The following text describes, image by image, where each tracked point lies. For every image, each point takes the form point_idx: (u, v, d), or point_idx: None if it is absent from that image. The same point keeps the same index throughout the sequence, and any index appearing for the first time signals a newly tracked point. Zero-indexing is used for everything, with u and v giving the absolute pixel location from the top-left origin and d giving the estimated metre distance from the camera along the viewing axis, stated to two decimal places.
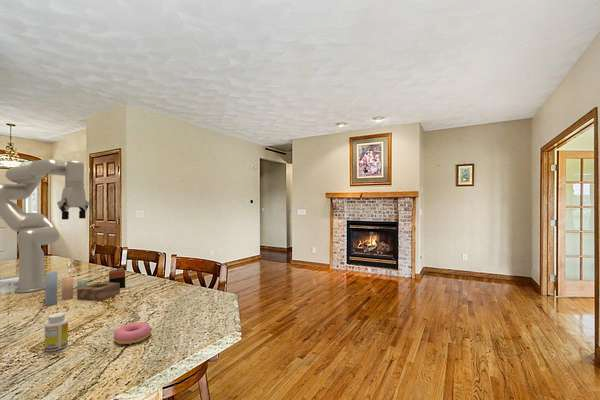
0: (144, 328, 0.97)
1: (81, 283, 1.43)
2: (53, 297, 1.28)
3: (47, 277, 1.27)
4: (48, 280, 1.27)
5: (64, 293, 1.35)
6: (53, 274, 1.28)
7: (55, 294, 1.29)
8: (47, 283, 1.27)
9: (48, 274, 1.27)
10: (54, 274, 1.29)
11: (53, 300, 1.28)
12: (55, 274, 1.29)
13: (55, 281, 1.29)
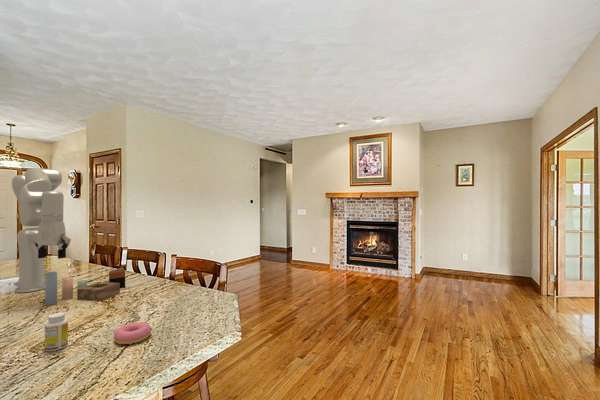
0: (144, 328, 0.97)
1: (81, 283, 1.43)
2: (53, 297, 1.28)
3: (47, 277, 1.27)
4: (48, 280, 1.27)
5: (64, 293, 1.35)
6: (53, 274, 1.28)
7: (55, 294, 1.29)
8: (47, 283, 1.27)
9: (48, 274, 1.27)
10: (54, 274, 1.29)
11: (53, 300, 1.28)
12: (55, 274, 1.29)
13: (55, 281, 1.29)
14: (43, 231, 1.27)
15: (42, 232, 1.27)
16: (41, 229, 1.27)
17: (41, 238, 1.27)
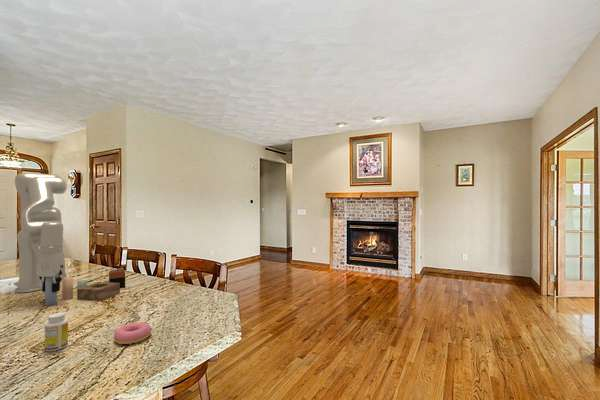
0: (144, 328, 0.97)
1: (81, 283, 1.43)
2: (53, 297, 1.28)
3: (47, 277, 1.27)
4: (48, 280, 1.27)
5: (64, 293, 1.35)
6: None
7: (55, 294, 1.29)
8: (47, 283, 1.27)
9: None
10: None
11: (53, 300, 1.28)
12: None
13: None
14: (42, 262, 1.27)
15: (42, 264, 1.27)
16: (41, 261, 1.27)
17: (40, 269, 1.27)
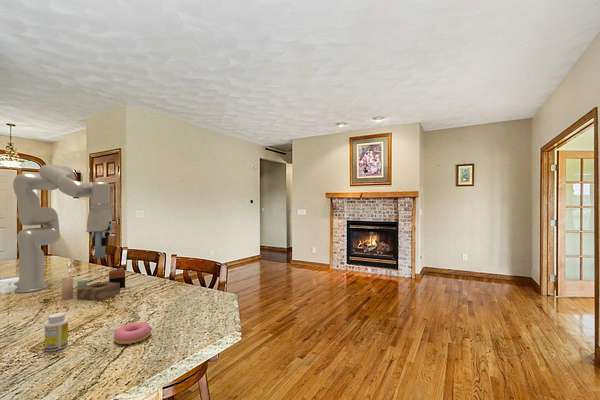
0: (144, 328, 0.97)
1: (81, 283, 1.43)
2: (102, 250, 1.40)
3: (97, 232, 1.39)
4: (97, 234, 1.39)
5: (64, 293, 1.35)
6: None
7: (104, 248, 1.41)
8: (97, 237, 1.39)
9: None
10: None
11: (102, 253, 1.40)
12: None
13: None
14: (93, 218, 1.38)
15: (92, 220, 1.38)
16: (91, 217, 1.38)
17: (91, 225, 1.38)
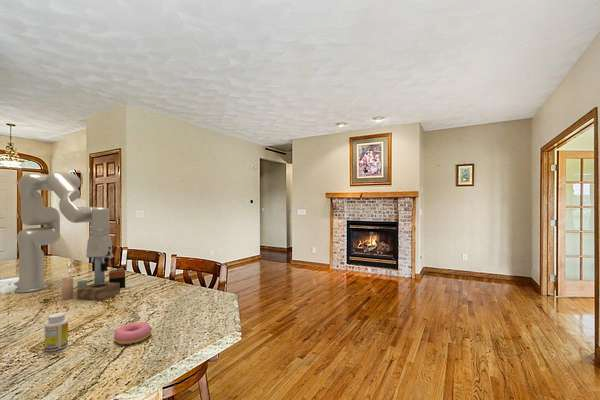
0: (144, 328, 0.97)
1: (81, 283, 1.43)
2: (101, 276, 1.40)
3: (96, 257, 1.39)
4: (97, 260, 1.39)
5: (64, 293, 1.35)
6: None
7: (103, 273, 1.41)
8: (96, 263, 1.39)
9: None
10: None
11: (101, 278, 1.40)
12: None
13: None
14: (92, 244, 1.38)
15: (92, 245, 1.38)
16: (91, 242, 1.38)
17: (91, 250, 1.38)
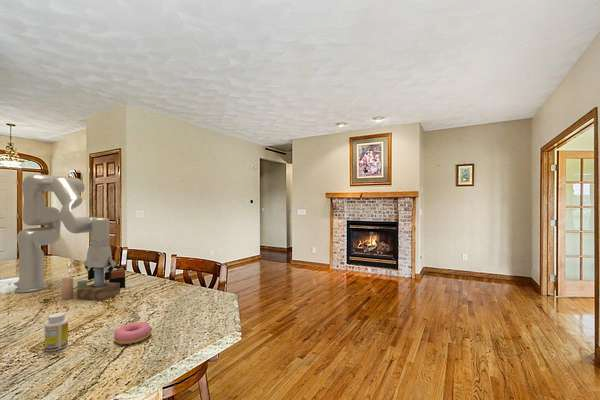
0: (144, 328, 0.97)
1: (81, 283, 1.43)
2: None
3: (96, 271, 1.39)
4: (97, 274, 1.39)
5: (64, 293, 1.35)
6: (101, 268, 1.40)
7: None
8: (96, 277, 1.39)
9: (97, 268, 1.39)
10: (102, 268, 1.40)
11: None
12: (103, 268, 1.40)
13: (103, 275, 1.40)
14: (92, 255, 1.38)
15: (92, 256, 1.38)
16: (91, 253, 1.38)
17: (90, 261, 1.38)
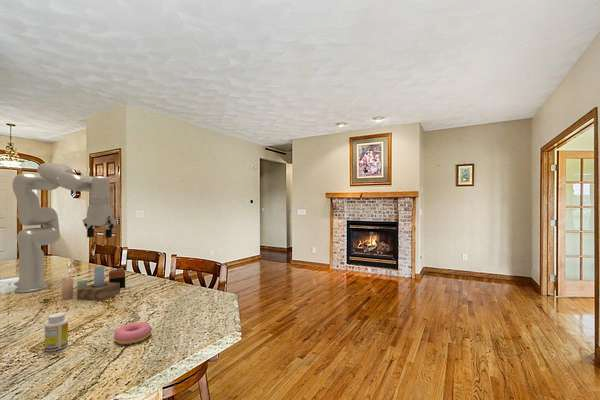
0: (144, 328, 0.97)
1: (81, 283, 1.43)
2: None
3: (96, 271, 1.39)
4: (97, 274, 1.39)
5: (64, 293, 1.35)
6: (101, 268, 1.40)
7: None
8: (96, 277, 1.39)
9: (97, 268, 1.39)
10: (102, 268, 1.40)
11: None
12: (103, 268, 1.40)
13: (103, 275, 1.40)
14: (92, 212, 1.38)
15: (92, 214, 1.38)
16: (91, 211, 1.39)
17: (90, 219, 1.39)
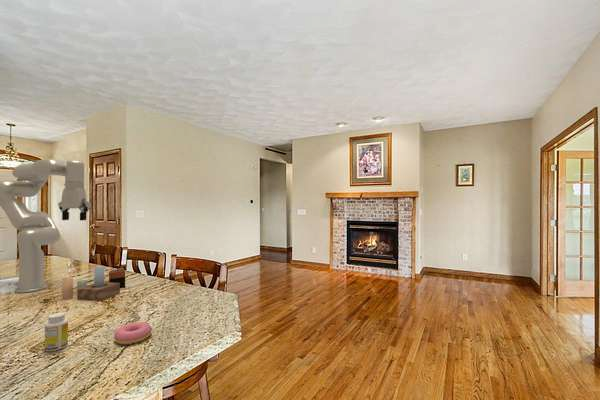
0: (145, 328, 0.97)
1: (81, 283, 1.43)
2: None
3: (96, 271, 1.39)
4: (97, 274, 1.39)
5: (64, 293, 1.35)
6: (101, 268, 1.40)
7: None
8: (96, 277, 1.39)
9: (97, 268, 1.39)
10: (102, 268, 1.40)
11: None
12: (103, 268, 1.40)
13: (103, 275, 1.40)
14: (67, 195, 1.42)
15: (66, 197, 1.42)
16: (65, 194, 1.43)
17: (65, 202, 1.42)
